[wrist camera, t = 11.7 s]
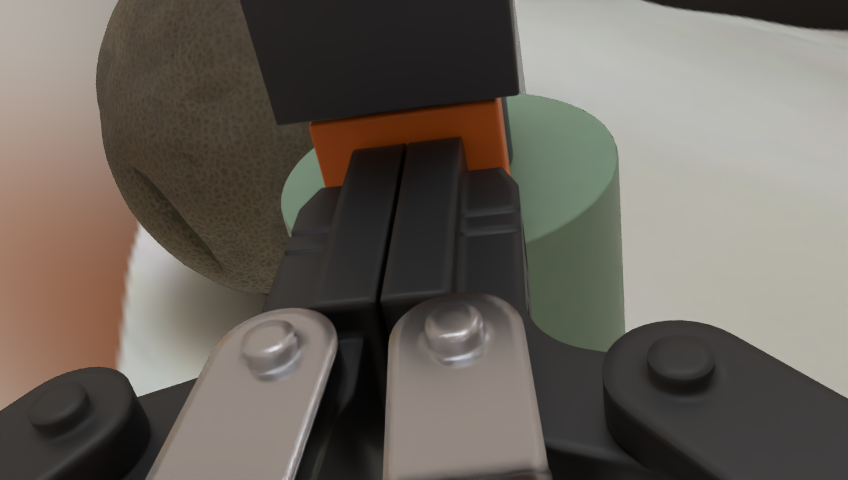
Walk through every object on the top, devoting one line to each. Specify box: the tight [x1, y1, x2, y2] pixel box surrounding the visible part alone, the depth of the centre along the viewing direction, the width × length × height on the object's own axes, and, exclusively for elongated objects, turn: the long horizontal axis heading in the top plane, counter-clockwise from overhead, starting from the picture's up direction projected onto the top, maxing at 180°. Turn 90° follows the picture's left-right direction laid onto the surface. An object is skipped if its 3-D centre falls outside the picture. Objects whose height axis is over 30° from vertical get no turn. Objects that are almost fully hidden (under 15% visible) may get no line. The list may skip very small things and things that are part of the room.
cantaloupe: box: [96, 0, 314, 294], centre depth 35 cm, size 14×14×15 cm
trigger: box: [309, 98, 511, 187], centre depth 12 cm, size 1×3×3 cm, turn 86°
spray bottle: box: [240, 0, 625, 352], centre depth 17 cm, size 8×6×20 cm
